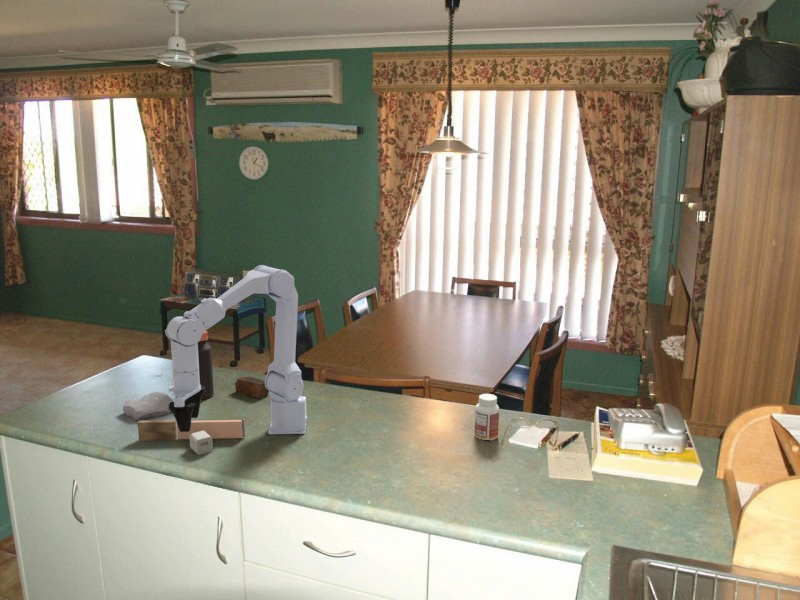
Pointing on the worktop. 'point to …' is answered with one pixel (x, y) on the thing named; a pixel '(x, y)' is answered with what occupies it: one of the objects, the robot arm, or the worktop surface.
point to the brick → (251, 387)
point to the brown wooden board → (157, 430)
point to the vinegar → (205, 366)
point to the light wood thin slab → (216, 429)
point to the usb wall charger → (201, 442)
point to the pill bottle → (487, 417)
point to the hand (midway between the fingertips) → (189, 424)
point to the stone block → (148, 406)
